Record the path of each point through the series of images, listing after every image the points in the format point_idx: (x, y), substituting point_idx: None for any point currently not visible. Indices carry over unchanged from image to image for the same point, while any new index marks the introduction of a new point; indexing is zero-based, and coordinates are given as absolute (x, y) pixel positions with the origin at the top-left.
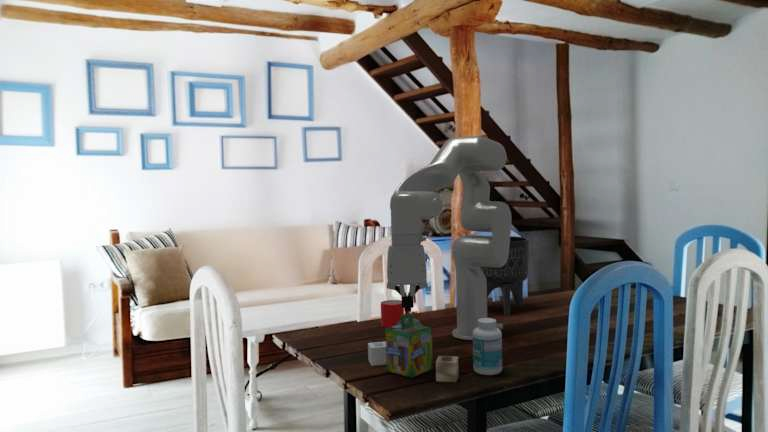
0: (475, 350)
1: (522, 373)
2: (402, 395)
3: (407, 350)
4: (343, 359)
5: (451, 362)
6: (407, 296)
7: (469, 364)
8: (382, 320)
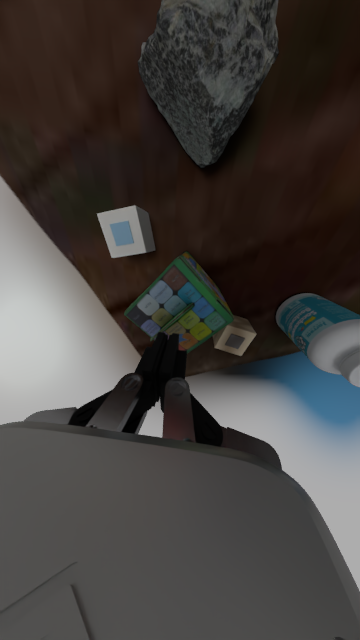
0: (293, 337)
1: None
2: None
3: None
4: (69, 204)
5: (235, 353)
6: (160, 373)
7: (287, 276)
8: None
